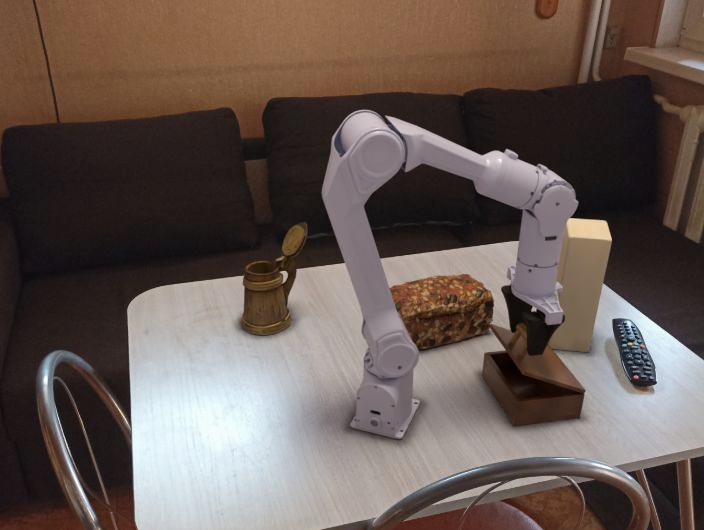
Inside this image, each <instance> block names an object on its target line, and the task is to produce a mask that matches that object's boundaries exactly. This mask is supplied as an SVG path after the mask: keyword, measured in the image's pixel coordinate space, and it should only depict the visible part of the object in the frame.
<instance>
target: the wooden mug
mask: <svg viewBox="0 0 704 530" xmlns="http://www.w3.org/2000/svg"><path fill="white" fill-rule="evenodd" d="M307 237H308V223H307V222H306V221H304V222H299V223H296V224H295V225H293V226H292V227H290V229H289V230H288V231H287V232H286V234H285V236H284V238H283V241H282V246H281V254H280V256H279V258H276V259H274V260H273V262H272V261H268V260H267V261H266V260H258V261H254V262H251V263H248V264H247V265H246V266H245V268H244V274H243V278H242V286H243V287H244V289H243V290H244V295H243V312H242V316H241V327H242V329H243V330H244V331H245V332H247V333H250V334H253V335H259V336H270V335H274V334H277V333H280V332H282V331H283V330H285V329H288V327H289V326H290V325H291V323H292V317H291V311H290V308H289V307H288V303H289V297H290V293H291V291H292V289H293V286H294V285H295V281H296V278H297V271H298V269H297V264H296V261H295V259H294V257H296V256H297V255H299V253H300V252H301V251H302V249H303V247H304V246H305V243H306V240H307ZM284 271H285V272H286V274H287V277H286V279H285V280H284V274H283V273H282V272H284Z"/></svg>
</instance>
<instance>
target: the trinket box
mask: <svg viewBox="0 0 704 530" xmlns="http://www.w3.org/2000/svg"><path fill="white" fill-rule="evenodd" d="M482 361H483V362H482V371H481V376H482V378H483V379H484V380H485V382H486V384H487V385H488V387H489V388H490V390H491V392H492V393H493V395H494V397H495V399H496V400H497V402H498V403H499V405H500V407H501V408H502V410H503V411H504V413H505V415H506V416H507V418H508V420H509V421H510V422H511V425H512V426H513V427H517V426H526V425H533V424H540V423H548V422H555V421H563V420H572V419H579V418H581V414H582V411H583V404H584V400H585V393H580V392H577V391H574V390H571V389H567V388H564V387H561V386H558V385H555V384H551V383H548V382H545V381H542V380H538V379H535V378H532V377H529V376H526V375H523V374H522V372H521V371H520V370H519V368H518V367H517V365H516V364H515V363H514V361H513V360H512V358H511V357H510V355H509V354H508V353H507V351H506V350H505V349H504V350H497V351H496V350H495V351H487V352H484V353H483V360H482Z"/></svg>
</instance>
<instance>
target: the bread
mask: <svg viewBox="0 0 704 530" xmlns="http://www.w3.org/2000/svg"><path fill="white" fill-rule="evenodd" d="M484 285H485V284H484V283H483V282H482V281H479V280H477V279H476V278H474V277H473V276H472V275H471V274H469V273H468V274H467V273H463V274H457V275H455V274H452V275H434V276H428V277H426V278H425V277H424V278H419V279H416V280H412V281H411V280H410V281H405V282H404V283H402V284H395V285H392V286H391V287H389V288H390V291H391V295H392V298H393V301H394V304H395V307H396V310H397V312H398V313H399V314H400V315H401V317H402V319H403V322H404V325H405V327H406V329H407V331H408V333H409V335H410V337H411V339H412V341H413V343H414V344H415V345H416V347H417V349H418V350H427V349H429V348H431V349H432V348H434V347H437V346H438V347H439V346H442V345H447V344H453V343H455V342H461V341H463V340H464V339H469V338H470V337H475V336H476V335H484V334H485V333H487V332H489V330H490V327H489V326H490V324H492V322H493V318H494V308H495V300H494V297H493V293H492V291H491V290H489V289H487V288H486V287H485V286H484Z"/></svg>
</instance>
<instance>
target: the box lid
mask: <svg viewBox="0 0 704 530" xmlns="http://www.w3.org/2000/svg"><path fill="white" fill-rule="evenodd" d="M489 327H490V328H489V330H490V331H492V333H493V334H494V336H495V337H496V339H497V340H498V342H499V343H500V344H501V346H502V347H503V349H504V350H506V351H507V353H508V354H509V355H510V357H511V358H512V360H513V361H514V363H515V364H516V365H517V367H518V368H519V370H520V371H521V372H522V374H523V375H526V376H529V377H532V378H535V379H538V380H542V381H545V382H548V383H551V384H555V385H558V386H561V387H564V388H567V389H571V390H574V391H577V392H580V393H584V394H585V393H586V392H587V389H586V388H585V387H584V386H583V385H582V383H581V382H580V381H579V380H578V378H577V377H576V376H575V375H574V374H573V372H571V370H570V369H569V368H568V366H567V365H566V363H564V362H563V360H562V359H561V358H560V357H559V356H558V354H557V353H556V352H555V351H554V349H552V348H551V347H550V346H549V343H548V344H547V346H546V348H545V350H544V352H543V354H542V355H535V356H529V354H528V352H527V330H526V326H525V325H524V324H523V323H519V324H517V326H516V332H515V333H512V332H511V329H508V328H505V327H502V326H499V325H496V324H493V323H490V326H489Z"/></svg>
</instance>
